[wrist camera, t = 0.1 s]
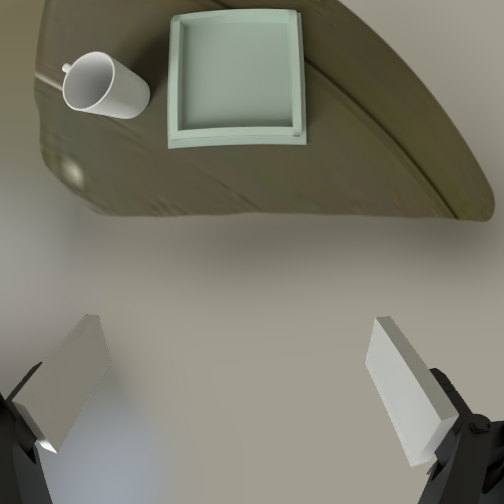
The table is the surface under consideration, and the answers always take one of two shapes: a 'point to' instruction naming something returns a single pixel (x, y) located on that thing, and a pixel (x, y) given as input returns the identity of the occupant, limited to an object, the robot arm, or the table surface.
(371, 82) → the table surface
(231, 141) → the tray
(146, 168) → the table surface
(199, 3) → the table surface
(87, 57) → the mug
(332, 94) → the table surface
